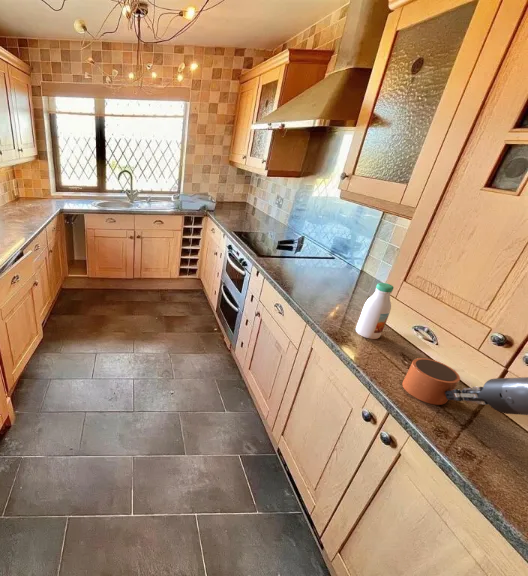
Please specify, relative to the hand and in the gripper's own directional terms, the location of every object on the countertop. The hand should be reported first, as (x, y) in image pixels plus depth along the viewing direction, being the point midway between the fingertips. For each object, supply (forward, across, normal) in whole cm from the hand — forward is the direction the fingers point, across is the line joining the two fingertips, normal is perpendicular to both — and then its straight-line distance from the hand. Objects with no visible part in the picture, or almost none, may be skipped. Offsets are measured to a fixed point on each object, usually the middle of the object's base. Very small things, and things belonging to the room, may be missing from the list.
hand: (448, 395), depth 81 cm
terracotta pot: (+7, 0, -1) cm, 7 cm away
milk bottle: (+27, -1, -21) cm, 35 cm away
